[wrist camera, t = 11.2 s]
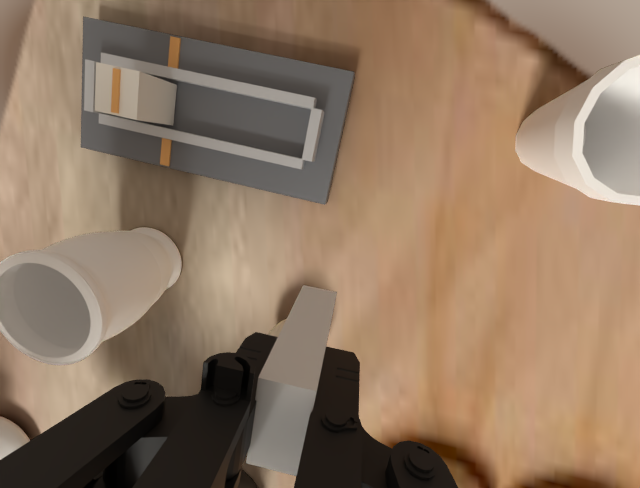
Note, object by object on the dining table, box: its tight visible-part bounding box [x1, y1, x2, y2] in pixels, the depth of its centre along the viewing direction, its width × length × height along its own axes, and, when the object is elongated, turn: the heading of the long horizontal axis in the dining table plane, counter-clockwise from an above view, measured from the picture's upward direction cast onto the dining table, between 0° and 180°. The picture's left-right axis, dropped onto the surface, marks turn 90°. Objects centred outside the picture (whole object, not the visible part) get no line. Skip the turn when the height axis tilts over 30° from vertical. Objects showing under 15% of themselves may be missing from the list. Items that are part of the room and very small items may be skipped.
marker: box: [160, 36, 181, 166], centre depth 36 cm, size 13×1×1 cm, turn 168°
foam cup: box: [515, 55, 640, 205], centre depth 28 cm, size 10×9×13 cm
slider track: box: [81, 17, 355, 204], centre depth 36 cm, size 13×28×4 cm, turn 78°
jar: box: [0, 227, 182, 365], centre depth 36 cm, size 11×10×15 cm
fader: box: [95, 62, 177, 125], centre depth 33 cm, size 4×4×6 cm
